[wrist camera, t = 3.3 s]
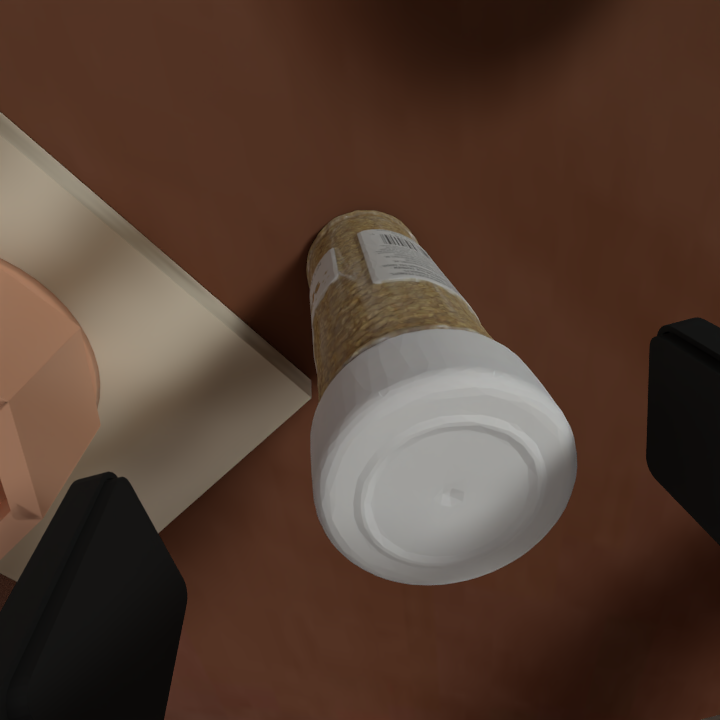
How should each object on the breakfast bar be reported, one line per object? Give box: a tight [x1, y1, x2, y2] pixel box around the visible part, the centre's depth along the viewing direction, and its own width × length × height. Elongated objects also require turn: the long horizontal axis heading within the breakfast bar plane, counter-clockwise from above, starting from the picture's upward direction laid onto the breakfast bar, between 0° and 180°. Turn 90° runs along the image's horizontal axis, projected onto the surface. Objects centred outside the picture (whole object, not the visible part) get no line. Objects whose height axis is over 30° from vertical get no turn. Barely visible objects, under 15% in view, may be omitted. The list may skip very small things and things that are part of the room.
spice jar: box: [306, 210, 577, 585], centre depth 15 cm, size 5×5×14 cm
